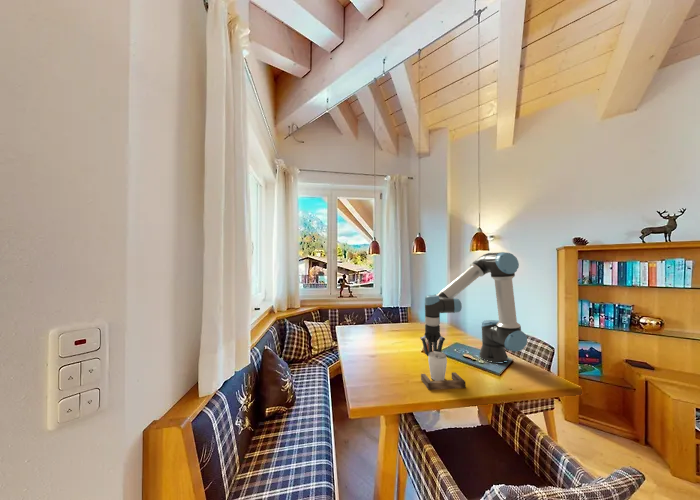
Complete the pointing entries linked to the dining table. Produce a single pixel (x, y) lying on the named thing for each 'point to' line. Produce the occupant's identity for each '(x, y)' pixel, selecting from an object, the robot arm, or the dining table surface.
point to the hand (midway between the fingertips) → (433, 368)
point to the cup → (437, 365)
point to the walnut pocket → (444, 382)
